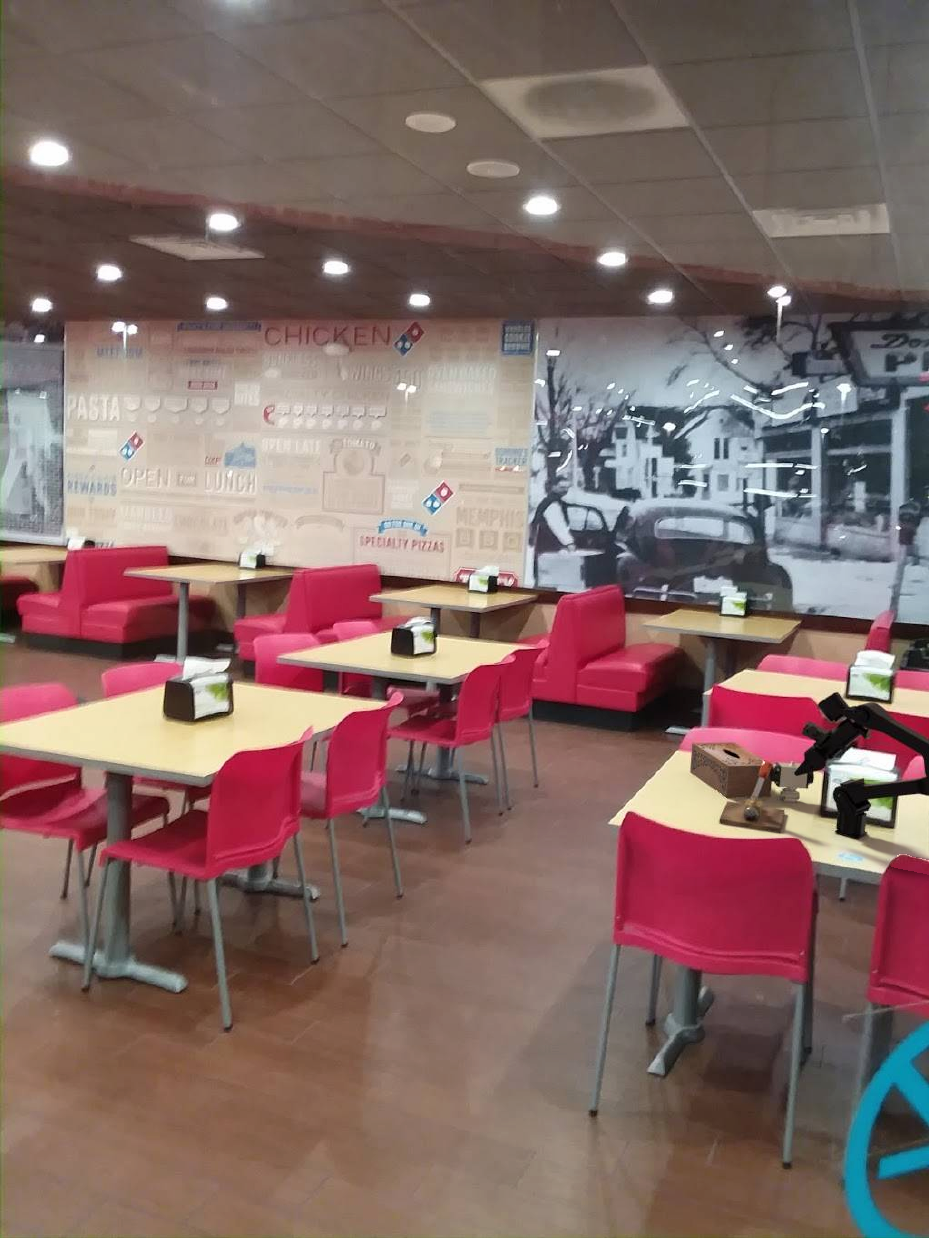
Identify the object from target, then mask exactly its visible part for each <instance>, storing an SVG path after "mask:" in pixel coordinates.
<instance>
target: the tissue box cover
mask: <svg viewBox="0 0 929 1238" xmlns="http://www.w3.org/2000/svg"><path fill="white" fill-rule="evenodd" d="M763 760H764V758H763V757H762V758H761V757H760V756H758V755H756V754H755V753H753V752H751V751H750V750H748V749H746V748H745V747H743V746H741V745H739V744H738V743H736V742H730V741H729V742H727V741H726V742H692V744H691V755H690V766H689V767H690V770H689V772H690V774H692V775H693V776H695V777H696V778H698V780H700V781H701V782H703V783H704V784H706V785H707V786H708V787H710V788H712V789H713V790H714V791H716V790H717V791H718V792H719V794H720V793H721V794H722V795H721V794H720V795H721V796H722V797H724V798H725V797H726V799H729V798H730V799H731V798H732V799H735V798H736V799H737V797H738V798H739V799H740V798H750V797H751V796H752V794H753V792H754V789H755V787H756V784H757V782H758V779H759V776H758V773H759V771H760V768H761V766H762V763H763ZM772 767H774V764H773V765H772ZM772 784H773V782H772V781H771V780H770V772H769V775H768V777H767V779H764V782H763V785H762V787H761V790H760V792H759V795H758V797H759V798H768V797H769V798H770V797H771V795H772ZM717 791H716V792H717ZM718 792H717V793H718Z"/></svg>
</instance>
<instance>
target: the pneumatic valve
mask: <svg viewBox="0 0 929 1238" xmlns="http://www.w3.org/2000/svg"><path fill="white" fill-rule="evenodd" d="M801 764H802V763H799V762H798V763H796V762H795V761H790V762H779V761H778V762H777V761H775V765H774V764H773V767H771V770H770V780H771V781H772V783H774V785H776V787H777V788H782V789H781V790H780V792H779V797H780V799H783V801H784V803H797V802H798V800H800V798H801V795H800V794H801V793H800V791H797V789H806V790H807V789H809V786H810V785H812V784H814V781H815V780H814V779H815V772H810V773H807V774H803V775H799V776H796V775H795V774H794V772H795V771H796V770H797V768H798V767H799V766H800V765H801Z"/></svg>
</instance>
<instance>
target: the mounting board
mask: <svg viewBox="0 0 929 1238" xmlns="http://www.w3.org/2000/svg"><path fill="white" fill-rule="evenodd" d="M744 805H745V803H741V802H734V801H726V803H725V805H724V808H723V810H722V812H721V815H720V817H719V821H718V823H719V824H722V825H729V826H737V827H743V828H749V829H755V830H760V829H761V831H769V832H772V833H773V832H774V833H780V832H781V829H782V825H783V820H784V815H785V809H781V808H773V807H768V806H763V805H762V813H761V816H760V818H758V819H757V821H749V820H745V819H744V816H743V814H744Z"/></svg>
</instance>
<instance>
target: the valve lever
mask: <svg viewBox="0 0 929 1238" xmlns="http://www.w3.org/2000/svg"><path fill="white" fill-rule="evenodd" d="M772 765H773V766H774V764H773V763H772V762H771V761H768V760H765V759H763V763H762V766H761V768H760V771H759V773H758V776H759V779H758V782H757V784H756V787H755V789H754V792H753V794H752V796H751V797H754V798H756V801H757V799H758V795H759V792H760V790H761V787H762V785H763V782H764V779H767V777H768V775H769V772H770V770H771V767H772ZM749 798H750V797H749ZM750 800H751V798H750Z"/></svg>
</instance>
